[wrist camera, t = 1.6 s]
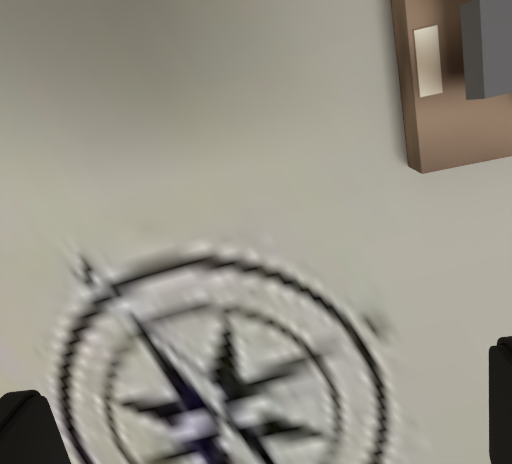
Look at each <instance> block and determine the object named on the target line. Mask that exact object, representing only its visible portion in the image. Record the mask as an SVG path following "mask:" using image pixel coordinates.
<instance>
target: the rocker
mask: <svg viewBox="0 0 512 464" xmlns="http://www.w3.org/2000/svg"><path fill="white" fill-rule="evenodd" d="M460 13H461V29H462V44H463V60H464V76H465V91H466V100H474V99H486V98H491V97H495V96H499V95H503V94H507V93H512V0H473V1H470V2H468V3H465V4H463V5H461V6H460Z"/></svg>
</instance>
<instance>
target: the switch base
mask: <svg viewBox="0 0 512 464" xmlns="http://www.w3.org/2000/svg"><path fill="white" fill-rule="evenodd" d="M470 1H473V0H391V6H392V15H393V24H394V33H395V43H396V52H397V61H398V71H399V80H400V89H401V99H402V108H403V117H404V126H405V136H406V145H407V154H408V164H409V167H410V168H412V169H414V170H416V171H418V172H420V173H422V174H423V173H428V172H433V171H438V170H443V169H448V168H453V167H458V166H463V165H469V164H474V163H479V162H484V161H489V160H494V159H499V158H504V157H509V156H512V93H507V94H503V95H499V96H495V97H491V98H486V99H474V100H466V91H465V76H464V60H463V44H462V29H461V13H460V6H461V5H463V4H465V3H468V2H470Z"/></svg>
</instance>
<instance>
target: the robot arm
mask: <svg viewBox="0 0 512 464" xmlns="http://www.w3.org/2000/svg"><path fill="white" fill-rule="evenodd" d="M489 454H490V460H491V464H512V336H509V337H501V338H499V339H498V341H497V346H491V347H490V349H489ZM0 464H71V462H70V459H69V457H68V454H67V451H66V449H65V446H64V443H63V440H62V438H61V435H60V432H59V430H58V427H57V424H56V422H55V419H54V416H53V414H52V411H51V408H50V406H49V403H48V401H47V399H46V398H45V397H44V396H41V395H40V393H39V392H38V391H36V390H26V391H17V392H9V393H6V394H5V395H4V396H2V397H1V398H0Z"/></svg>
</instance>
